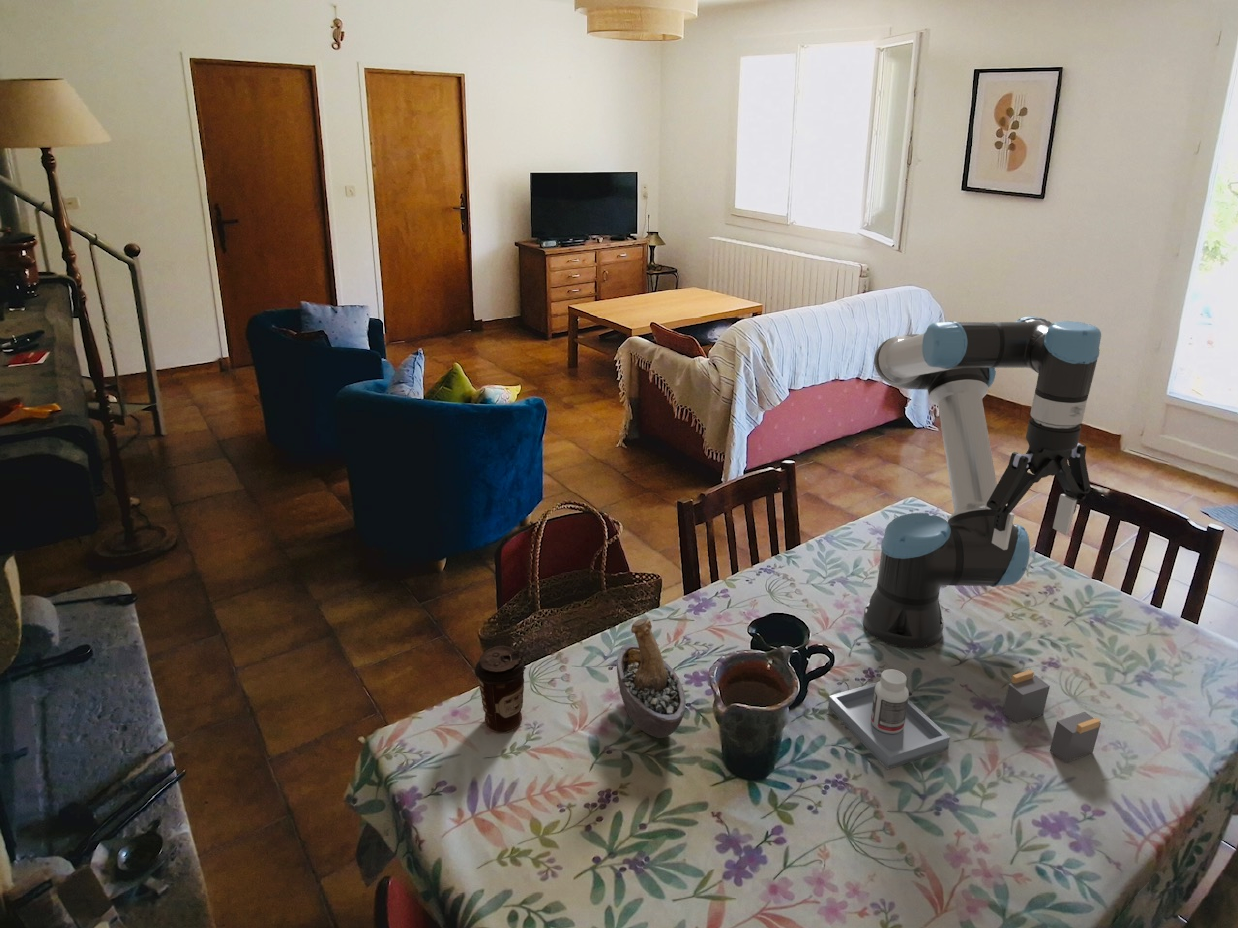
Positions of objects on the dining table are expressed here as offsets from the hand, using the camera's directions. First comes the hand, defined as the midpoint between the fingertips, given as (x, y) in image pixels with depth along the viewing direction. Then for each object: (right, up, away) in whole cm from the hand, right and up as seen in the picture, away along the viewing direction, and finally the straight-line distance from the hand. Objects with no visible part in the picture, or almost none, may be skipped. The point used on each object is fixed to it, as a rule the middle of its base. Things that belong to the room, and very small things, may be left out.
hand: (1030, 538), depth 142 cm
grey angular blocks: (+2, -32, -2) cm, 32 cm away
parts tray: (-25, -32, -1) cm, 40 cm away
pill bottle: (-25, -31, -1) cm, 40 cm away
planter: (-64, -31, +2) cm, 72 cm away
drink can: (-89, -31, +1) cm, 95 cm away
